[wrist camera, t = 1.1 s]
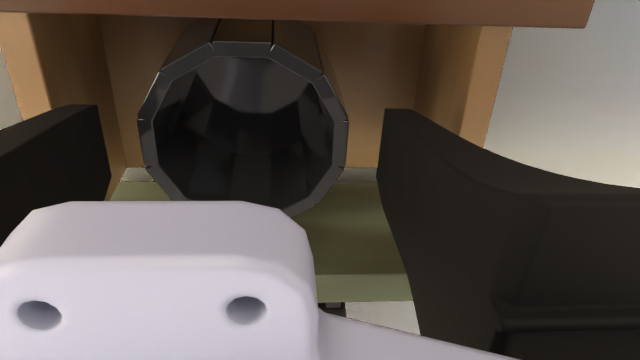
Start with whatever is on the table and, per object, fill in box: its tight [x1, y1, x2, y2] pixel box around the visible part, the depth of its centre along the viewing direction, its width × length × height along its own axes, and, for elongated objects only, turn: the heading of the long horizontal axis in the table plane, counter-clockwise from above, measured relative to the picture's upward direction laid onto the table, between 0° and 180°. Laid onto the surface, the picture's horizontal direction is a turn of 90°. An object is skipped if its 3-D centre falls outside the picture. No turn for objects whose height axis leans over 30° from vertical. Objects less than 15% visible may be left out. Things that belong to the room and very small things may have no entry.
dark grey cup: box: [136, 18, 349, 218], centre depth 15 cm, size 5×5×5 cm
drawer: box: [0, 12, 513, 317], centre depth 16 cm, size 17×13×6 cm
